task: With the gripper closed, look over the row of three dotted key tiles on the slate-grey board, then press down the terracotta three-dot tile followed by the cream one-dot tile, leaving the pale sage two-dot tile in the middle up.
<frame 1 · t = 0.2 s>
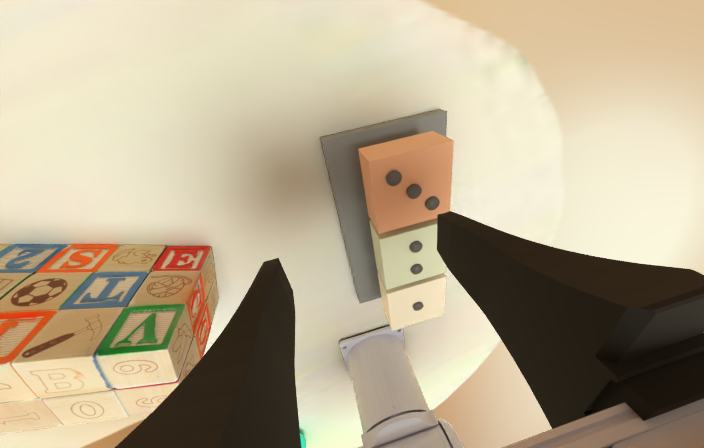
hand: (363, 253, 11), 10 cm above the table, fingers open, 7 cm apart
tile two: (409, 248, 20), point 4 cm above the table, slide at 0.0 cm
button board: (390, 220, 23), on the table
tile three: (405, 183, 16), point 4 cm above the table, slide at 0.0 cm
tile one: (412, 295, 23), point 4 cm above the table, slide at 0.0 cm
stack of blocks: (61, 273, 19), on the table
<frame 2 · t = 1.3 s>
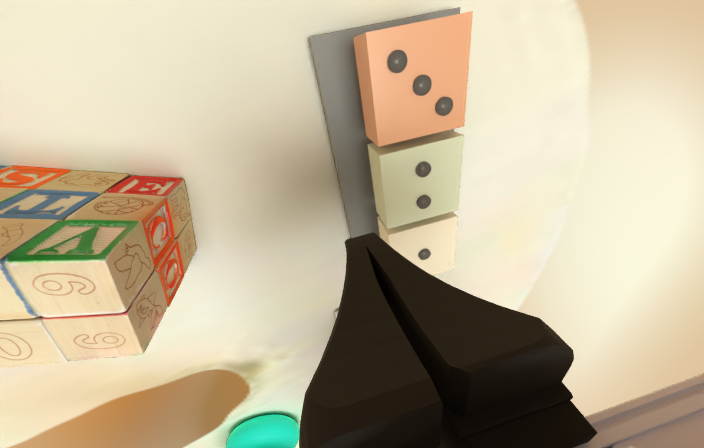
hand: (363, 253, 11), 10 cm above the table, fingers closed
tile two: (414, 178, 17), point 4 cm above the table, slide at 0.0 cm
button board: (392, 159, 20), on the table
tile three: (411, 83, 14), point 4 cm above the table, slide at 0.0 cm
tile one: (417, 244, 20), point 4 cm above the table, slide at 0.0 cm
donuts: (264, 426, 38), on the table
stack of blocks: (6, 207, 16), on the table
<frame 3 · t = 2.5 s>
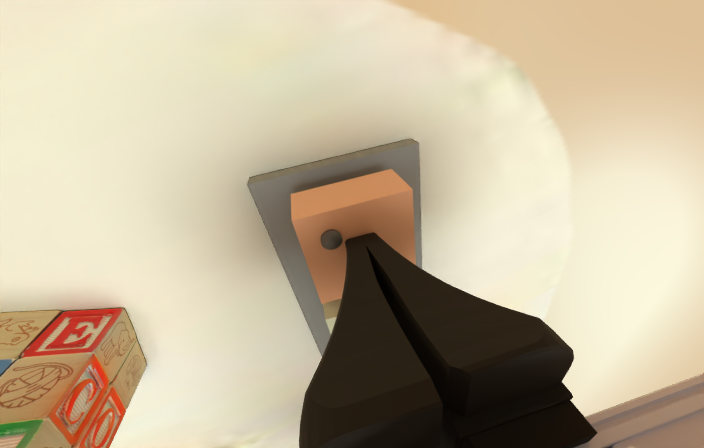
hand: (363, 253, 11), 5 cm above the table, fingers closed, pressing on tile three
tile two: (373, 317, 15), point 4 cm above the table, slide at 0.0 cm
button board: (357, 270, 18), on the table
tile three: (356, 238, 12), point 4 cm above the table, slide at -0.6 cm, touching gripper
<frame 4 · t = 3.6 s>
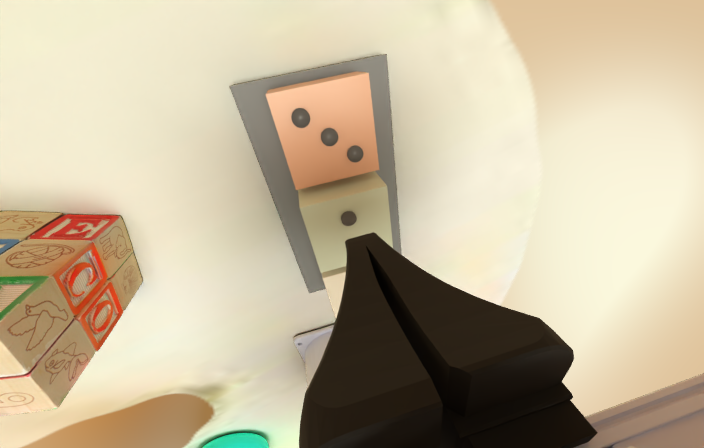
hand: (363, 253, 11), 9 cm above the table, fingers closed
tile two: (347, 222, 16), point 4 cm above the table, slide at 0.0 cm
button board: (336, 195, 20), on the table
tile three: (326, 131, 14), point 3 cm above the table, slide at -1.3 cm
tile one: (360, 281, 19), point 4 cm above the table, slide at 0.0 cm
donuts: (234, 443, 38), on the table
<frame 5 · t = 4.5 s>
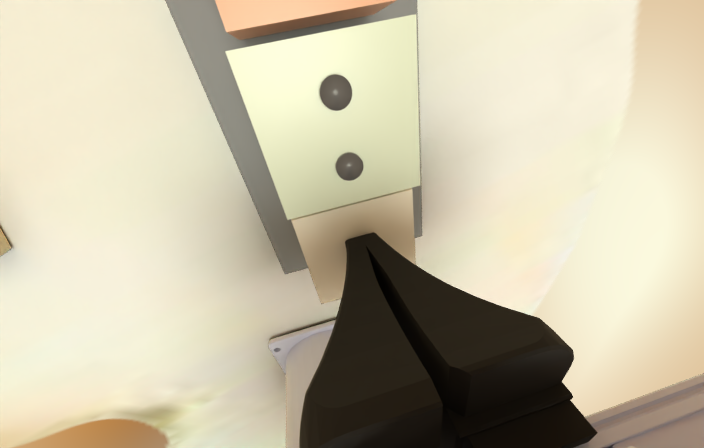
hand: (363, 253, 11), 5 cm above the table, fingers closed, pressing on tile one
tile two: (336, 124, 9), point 4 cm above the table, slide at 0.0 cm
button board: (322, 108, 12), on the table
tile one: (356, 238, 12), point 3 cm above the table, slide at -0.8 cm, touching gripper
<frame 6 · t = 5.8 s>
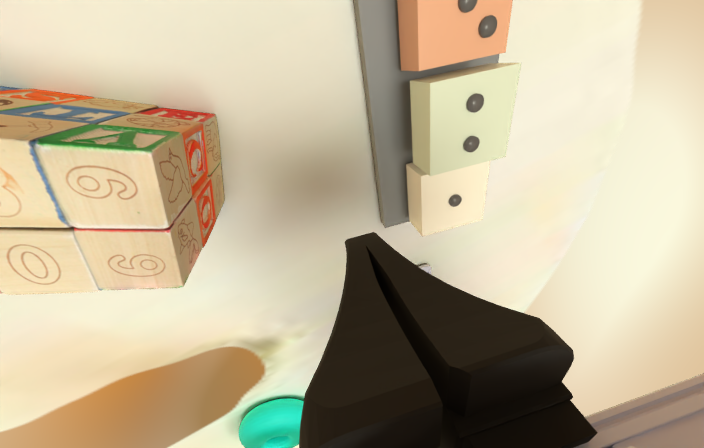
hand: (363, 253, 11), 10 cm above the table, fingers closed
tile two: (460, 120, 15), point 4 cm above the table, slide at 0.0 cm
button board: (428, 110, 19), on the table
tile three: (453, 5, 13), point 3 cm above the table, slide at -1.3 cm
tile one: (446, 193, 19), point 3 cm above the table, slide at -1.3 cm
donuts: (278, 411, 37), on the table
stack of blocks: (22, 141, 15), on the table
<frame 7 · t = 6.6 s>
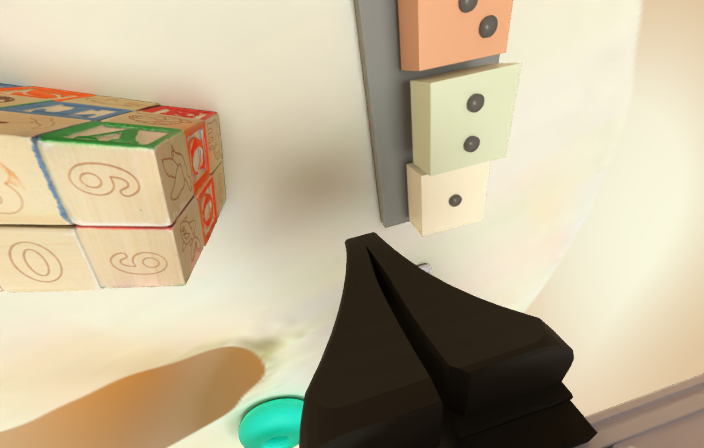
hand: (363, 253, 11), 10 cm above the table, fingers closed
tile two: (460, 120, 15), point 4 cm above the table, slide at 0.0 cm
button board: (428, 110, 19), on the table
tile three: (454, 5, 13), point 3 cm above the table, slide at -1.3 cm
tile one: (446, 193, 19), point 3 cm above the table, slide at -1.3 cm
donuts: (278, 411, 37), on the table
stack of blocks: (23, 139, 15), on the table
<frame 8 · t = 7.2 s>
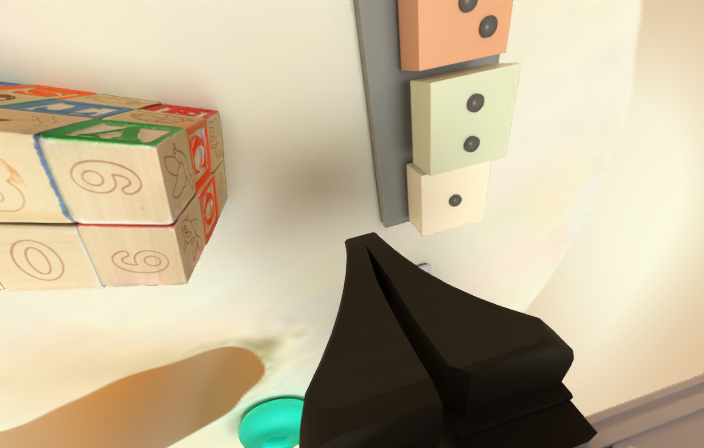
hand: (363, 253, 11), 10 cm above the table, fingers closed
tile two: (460, 120, 15), point 4 cm above the table, slide at 0.0 cm
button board: (428, 110, 19), on the table
tile three: (454, 5, 13), point 3 cm above the table, slide at -1.3 cm
tile one: (446, 193, 19), point 3 cm above the table, slide at -1.3 cm
donuts: (278, 411, 37), on the table
stack of blocks: (24, 137, 15), on the table
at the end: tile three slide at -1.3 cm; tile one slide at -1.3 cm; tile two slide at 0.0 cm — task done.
